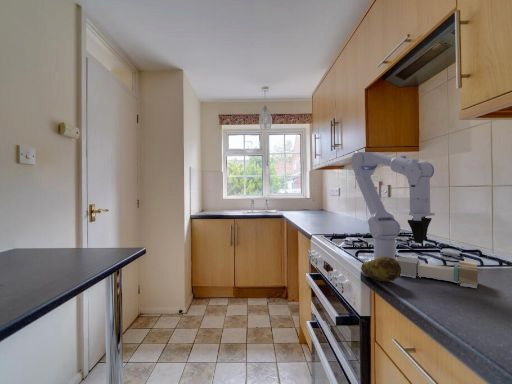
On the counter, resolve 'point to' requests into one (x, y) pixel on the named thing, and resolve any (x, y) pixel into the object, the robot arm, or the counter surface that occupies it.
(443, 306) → the counter surface
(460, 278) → the tan rectangular block
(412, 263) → the sleeve
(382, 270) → the potato
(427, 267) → the white bar teal band
